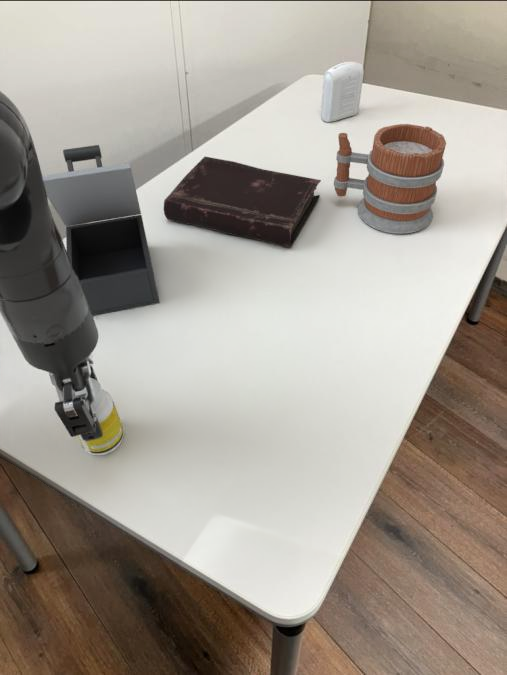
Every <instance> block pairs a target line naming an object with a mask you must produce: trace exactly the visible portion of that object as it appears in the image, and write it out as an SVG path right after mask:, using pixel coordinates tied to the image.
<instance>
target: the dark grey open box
mask: <svg viewBox="0 0 507 675" xmlns="http://www.w3.org/2000/svg"><path fill="white" fill-rule="evenodd" d="M65 237H66V239H65V240H66V241H65V242H66V252H67V254H68V257H69V260H70V263H71V265H72V267H73V269H74V271H75V273H76V275H77V276H78V278H79V280H80V283H81V285H82V288H83V290H84V293H85V296H86V299H87V302H88V304H89V307H90V310H91V313H92V316H93V317H94V316H99V315H103V314H104V315H105V314H109V313H114V312H119V311H125V310H129V309H135V308H140V307H145V306H146V307H147V306H151V305H155V304H160V300H159V299H160V298H159V294H158V288H157V283H156V278H155V273H154V269H153V263H152V259H151V254H150V249H149V244H148V239H147V234H146V229H145V225H144V220H143V217H142V214H139V215H133V216H127V217H121V218H115V219H109V220H102V221H96V222H90V223H84V224H78V225H72V226H65Z"/></svg>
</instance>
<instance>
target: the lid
mask: <svg viewBox="0 0 507 675" xmlns="http://www.w3.org/2000/svg"><path fill="white" fill-rule="evenodd" d="M62 154H63V157H64V161H65V163H66V166H67V170H68V171H66V172H65V171H64V172H57V173H51V174H45V175H42V177H43V181H44V185H45V190H46V194H47V199H48V202H50V204H51V205H52V207H53V209H54V210H55V212H56V214H57V215H58V216H59V219H60V220H61V221H62V223H63V224H64V226H65V227H68V226H74V225H80V224H86V223H92V222H99V221H105V220H111V219H117V218H123V217H129V216H135V215H142V212H141V206H140V202H139V198H138V193H137V188H136V184H135V180H134V175H133V171H132V166H131V162H126V163H120V164H112V165H107V166H106V165H105V166H103V164H102V159H103V158H102V157H103V156H102V151H101V147H100V145H99V144H95V145H88V146H81V147H73V148H66V149H63V150H62ZM90 160H95V164H96V167H93V168H86V169H79V170H78V169H77V170H75V168H74V163H77V162H84V161H90Z"/></svg>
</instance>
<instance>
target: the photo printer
mask: <svg viewBox="0 0 507 675" xmlns="http://www.w3.org/2000/svg"><path fill="white" fill-rule="evenodd" d="M364 74H365V72H364V67H363V64H362V63H359V62H356V61H344V62H341V63H337V64H336V65H333V66H332V67H330V68H329V69H327V70H326V71H325V73H324V75H323V82H322V94H321V106H320V117H321V120H322V121H323V122H326V123H330V122H336V121H339V120H343V119H346V118H350V117H353V116H356V115H358V114H359V111H360V104H361V96H362V90H363V81H364Z"/></svg>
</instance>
